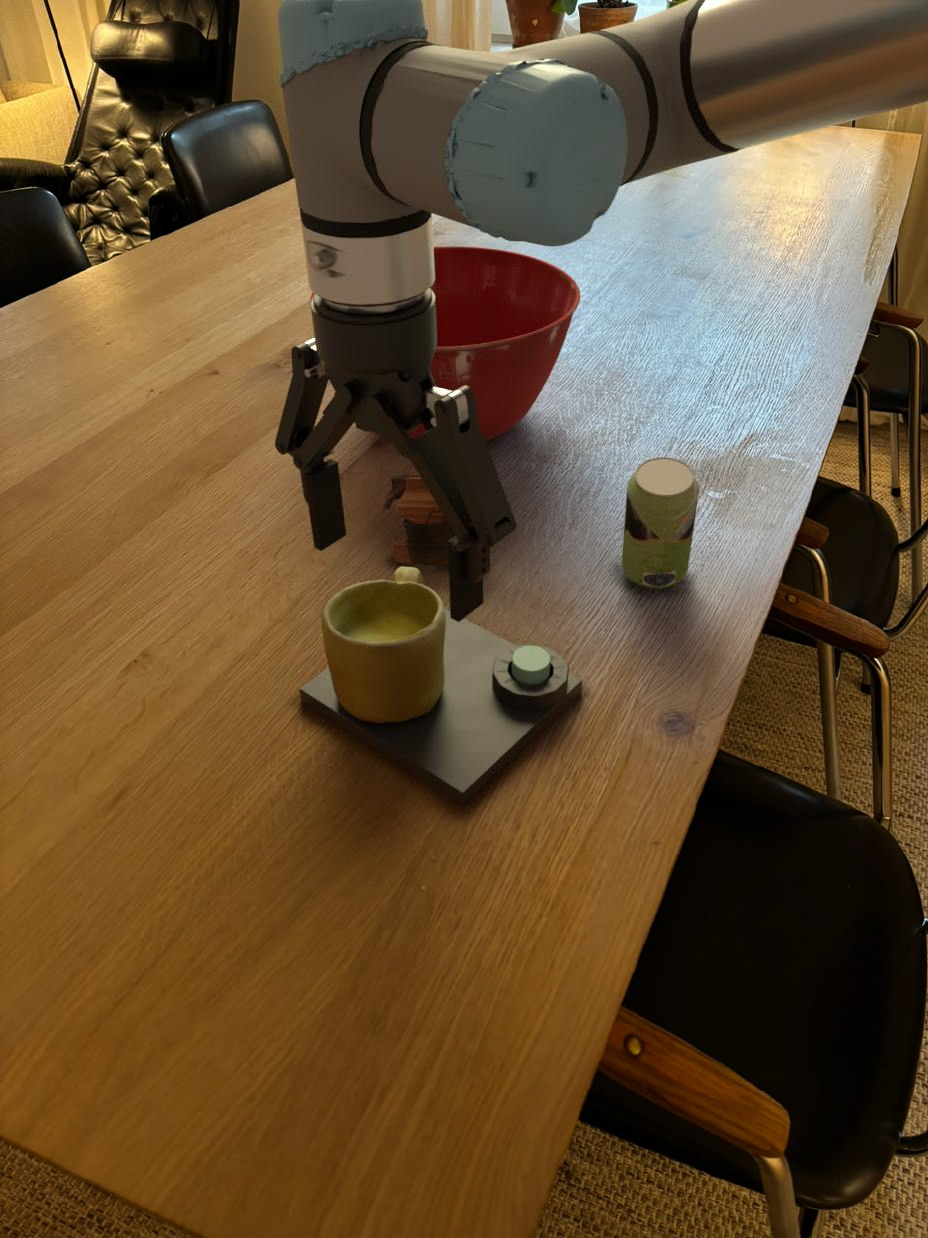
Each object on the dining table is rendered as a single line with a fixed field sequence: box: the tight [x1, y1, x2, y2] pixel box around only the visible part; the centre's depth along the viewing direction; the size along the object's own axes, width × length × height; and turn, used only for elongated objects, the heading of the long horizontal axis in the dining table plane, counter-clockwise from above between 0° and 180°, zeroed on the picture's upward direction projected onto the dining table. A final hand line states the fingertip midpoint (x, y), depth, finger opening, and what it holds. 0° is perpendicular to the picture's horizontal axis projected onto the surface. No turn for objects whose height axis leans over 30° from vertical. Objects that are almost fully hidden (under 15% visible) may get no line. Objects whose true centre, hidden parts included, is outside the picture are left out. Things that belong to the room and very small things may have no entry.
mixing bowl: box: [309, 245, 581, 443], centre depth 110 cm, size 28×28×16 cm
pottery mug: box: [382, 474, 472, 567], centre depth 95 cm, size 12×10×8 cm
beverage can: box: [621, 456, 700, 589], centre depth 88 cm, size 6×7×12 cm
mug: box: [321, 565, 446, 724], centre depth 77 cm, size 12×10×10 cm
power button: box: [512, 646, 550, 685], centre depth 78 cm, size 3×3×2 cm
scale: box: [298, 607, 583, 806], centre depth 79 cm, size 17×15×3 cm
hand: (395, 574), depth 73 cm, fingers open, 13 cm apart
